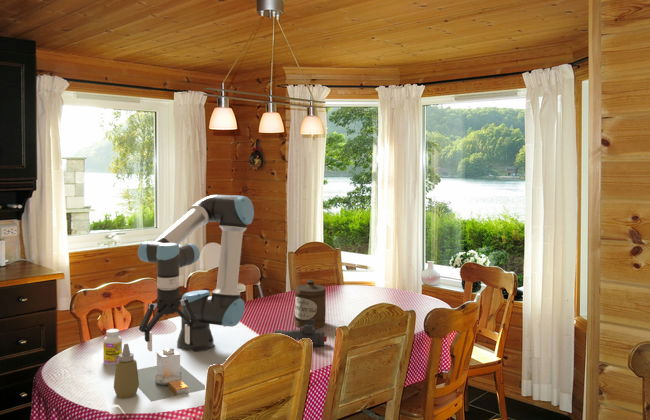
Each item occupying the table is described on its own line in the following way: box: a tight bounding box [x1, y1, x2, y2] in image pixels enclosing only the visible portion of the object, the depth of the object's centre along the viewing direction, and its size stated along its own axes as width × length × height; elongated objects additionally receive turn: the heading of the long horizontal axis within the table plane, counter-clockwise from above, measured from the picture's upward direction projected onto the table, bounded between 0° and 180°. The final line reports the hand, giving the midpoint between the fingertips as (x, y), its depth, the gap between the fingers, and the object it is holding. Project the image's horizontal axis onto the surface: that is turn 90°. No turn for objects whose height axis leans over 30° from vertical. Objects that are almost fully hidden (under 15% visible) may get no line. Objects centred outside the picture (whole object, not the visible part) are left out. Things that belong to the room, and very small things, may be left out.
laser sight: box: [273, 319, 328, 347], centre depth 253 cm, size 10×22×10 cm, turn 86°
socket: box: [156, 347, 181, 379], centre depth 207 cm, size 6×6×9 cm
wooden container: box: [294, 279, 327, 330], centre depth 282 cm, size 15×15×22 cm
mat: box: [137, 364, 206, 402], centre depth 209 cm, size 20×30×1 cm, turn 35°
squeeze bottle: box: [113, 343, 139, 400], centre depth 195 cm, size 8×8×18 cm
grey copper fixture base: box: [155, 372, 189, 397], centre depth 203 cm, size 18×9×6 cm, turn 35°
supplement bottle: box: [103, 328, 123, 366], centre depth 225 cm, size 7×7×13 cm
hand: (168, 346), depth 206 cm, fingers open, 13 cm apart
